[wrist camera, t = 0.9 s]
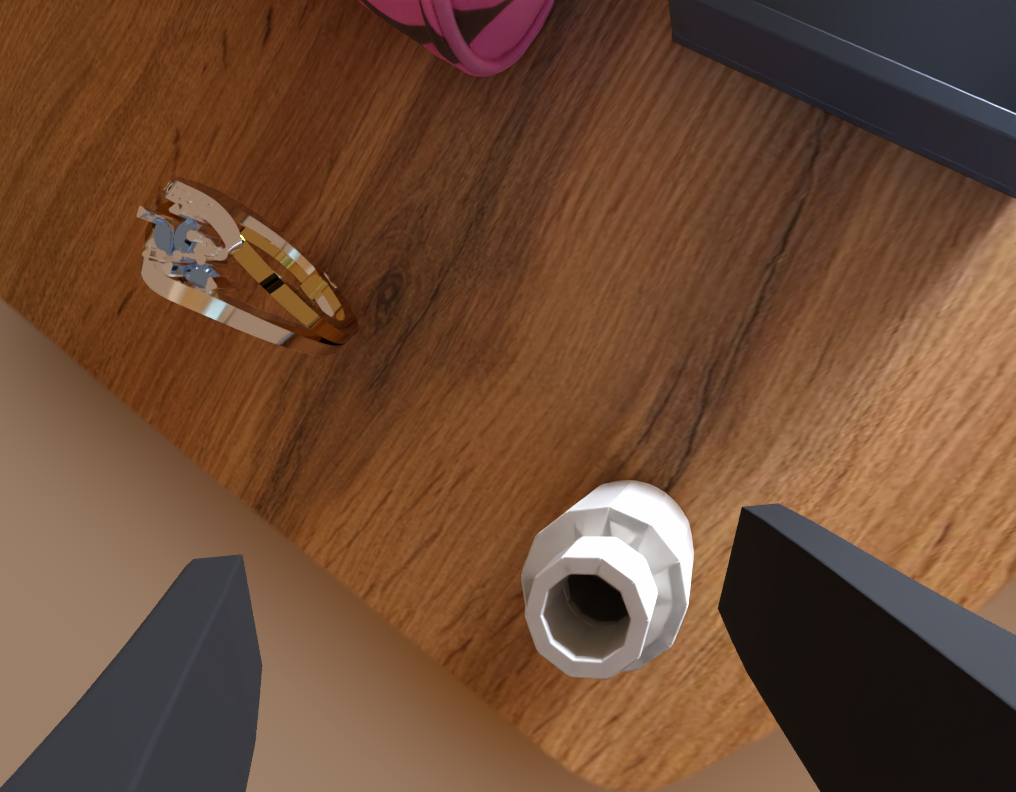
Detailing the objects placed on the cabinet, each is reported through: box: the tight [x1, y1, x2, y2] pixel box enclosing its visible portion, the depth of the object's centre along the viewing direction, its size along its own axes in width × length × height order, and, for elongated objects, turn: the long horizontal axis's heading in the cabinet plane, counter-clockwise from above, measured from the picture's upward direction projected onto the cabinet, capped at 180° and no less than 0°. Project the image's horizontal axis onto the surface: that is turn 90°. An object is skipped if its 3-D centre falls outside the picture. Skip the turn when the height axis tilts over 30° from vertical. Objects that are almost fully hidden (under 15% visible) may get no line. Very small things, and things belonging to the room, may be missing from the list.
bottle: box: [521, 480, 694, 680], centre depth 18 cm, size 4×4×8 cm
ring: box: [136, 176, 358, 356], centre depth 22 cm, size 7×3×8 cm, turn 40°
